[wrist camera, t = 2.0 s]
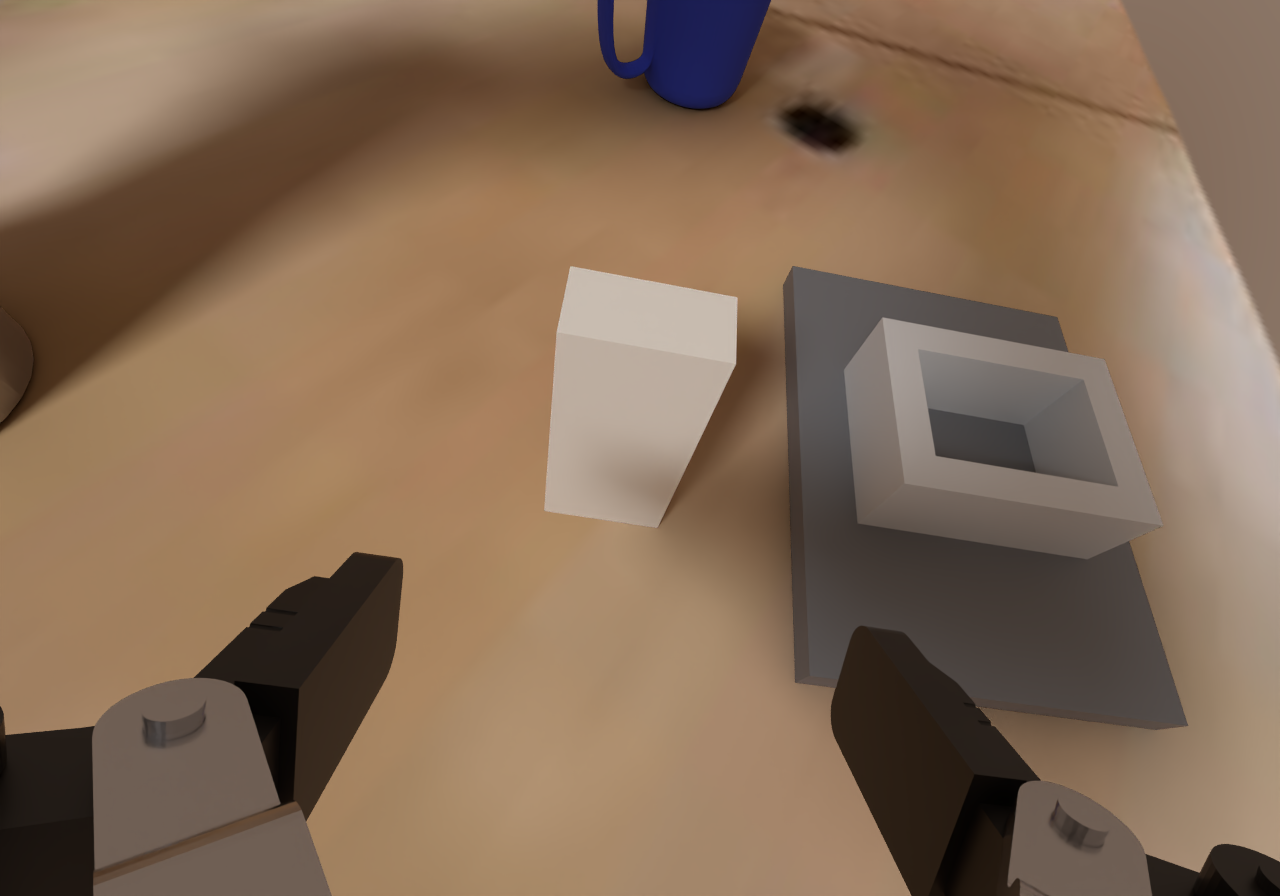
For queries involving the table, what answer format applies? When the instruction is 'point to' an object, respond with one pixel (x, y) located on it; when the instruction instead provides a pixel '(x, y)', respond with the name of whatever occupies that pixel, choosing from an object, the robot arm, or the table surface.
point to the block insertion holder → (967, 502)
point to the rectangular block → (632, 392)
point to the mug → (689, 47)
